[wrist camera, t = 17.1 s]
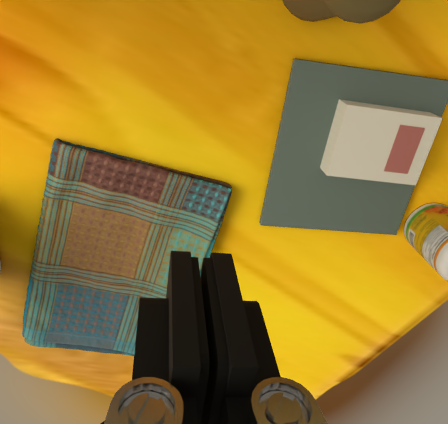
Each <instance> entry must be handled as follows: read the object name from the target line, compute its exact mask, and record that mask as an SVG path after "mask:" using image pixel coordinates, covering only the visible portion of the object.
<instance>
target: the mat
mask: <svg viewBox="0 0 448 424" xmlns="http://www.w3.org/2000/svg"><path fill="white" fill-rule="evenodd" d="M339 99H340V100H347V101H354V102H361V103H368V104H375V105H382V106H389V107H396V108H403V109H410V110H417V111H424V112H430V113H433V114H435V115H437V116H439V117H442V114H443V112H444V109H445V107H446V104H447V101H448V80H442V79H435V78H428V77H421V76H414V75H407V74H400V73H392V72H385V71H378V70H371V69H364V68H357V67H350V66H343V65H336V64H329V63H322V62H315V61H308V60H301V59H293V64H292V69H291V74H290V79H289V83H288V88H287V93H286V98H285V103H284V107H283V112H282V117H281V122H280V127H279V132H278V136H277V141H276V146H275V151H274V156H273V160H272V165H271V170H270V175H269V180H268V184H267V189H266V194H265V199H264V204H263V208H262V213H261V218H260V225H264V226H278V227H292V228H306V229H321V230H335V231H349V232H363V233H378V234H392V235H396V234H397V231H398V229H399V226H400V224H401V221H402V218H403V216H404V213H405V211H406V208H407V205H408V203H409V200H410V198H411V195H412V192H413V190H414V187H415V185H407V184H398V183H389V182H380V181H371V180H362V179H353V178H344V177H335V176H327V175H326V174H325V173H324V172H323V171H322V169H321V168H320V165H321V162H322V158H323V154H324V151H325V147H326V144H327V140H328V137H329V133H330V129H331V126H332V122H333V119H334V115H335V111H336V108H337V104H338V101H339Z"/></svg>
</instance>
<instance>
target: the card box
mask: <svg viewBox="0 0 448 424" xmlns="http://www.w3.org/2000/svg"><path fill="white" fill-rule="evenodd" d="M442 119H443V118H441V117H439V116H437V115H435V114H433V113H430V112H424V111H417V110H410V109H403V108H396V107H389V106H382V105H375V104H368V103H361V102H354V101H347V100H340V99H339V101H338V104H337V108H336V111H335V115H334V119H333V122H332V126H331V129H330V133H329V137H328V140H327V144H326V147H325V151H324V154H323V158H322V162H321V165H320V168H321V169H322V171H323V172H324V173H325V174H326V175H327V176H335V177H344V178H353V179H362V180H371V181H380V182H389V183H398V184H407V185H416V184H417V181H418V179H419V176H420V174H421V171H422V169H423V166H424V164H425V161H426V159H427V156H428V154H429V151H430V149H431V146H432V144H433V141H434V139H435V136H436V134H437V131H438V129H439V126H440V124H441V121H442Z"/></svg>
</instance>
